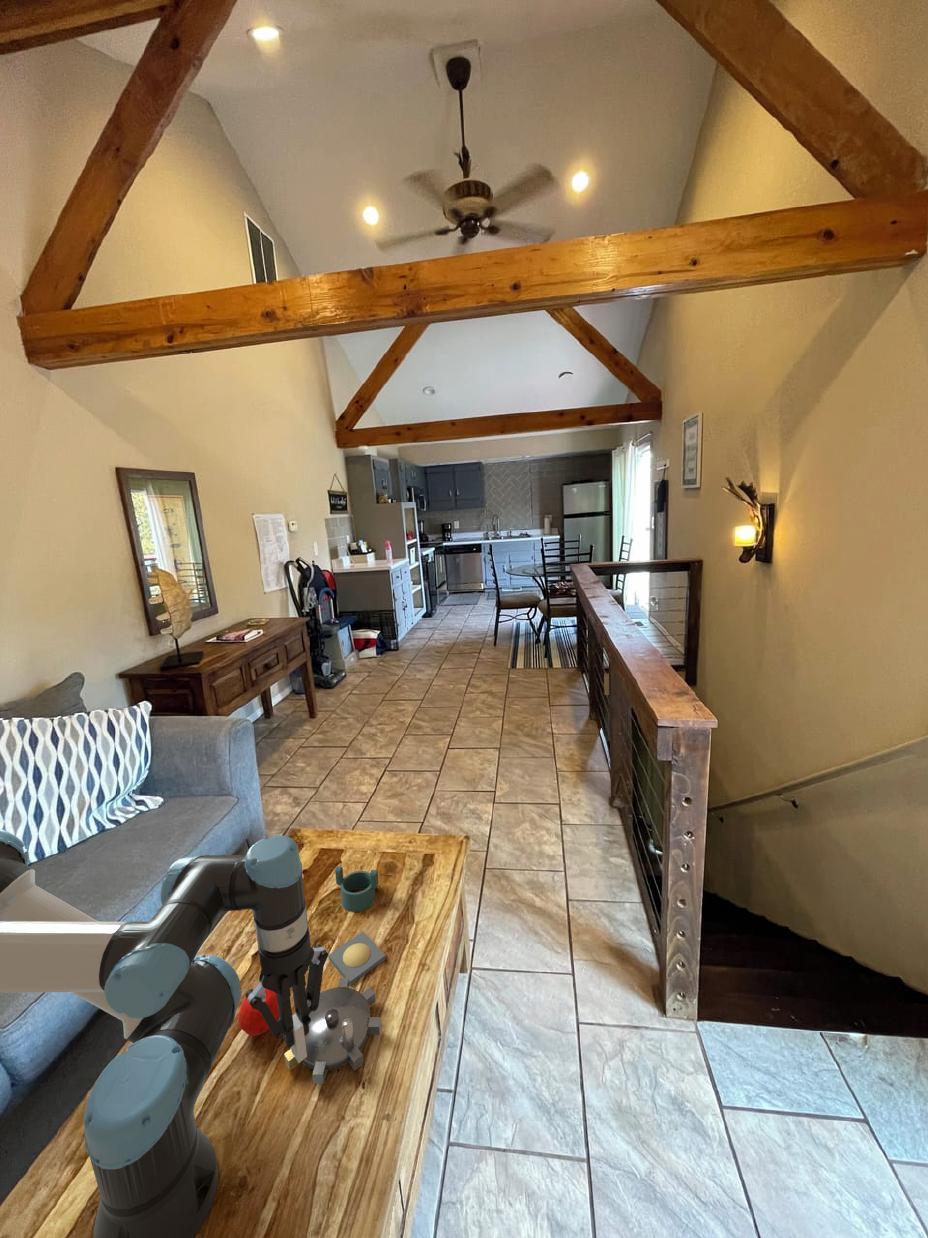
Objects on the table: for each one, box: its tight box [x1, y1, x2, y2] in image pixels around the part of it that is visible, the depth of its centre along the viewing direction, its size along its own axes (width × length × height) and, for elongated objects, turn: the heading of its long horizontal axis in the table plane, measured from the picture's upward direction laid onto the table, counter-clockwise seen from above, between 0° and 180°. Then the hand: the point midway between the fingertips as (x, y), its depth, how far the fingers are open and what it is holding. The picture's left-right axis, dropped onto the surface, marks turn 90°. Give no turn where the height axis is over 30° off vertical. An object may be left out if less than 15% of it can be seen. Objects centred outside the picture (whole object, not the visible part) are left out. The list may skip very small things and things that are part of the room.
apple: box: [237, 989, 280, 1037], centre depth 96 cm, size 8×8×7 cm
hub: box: [325, 1009, 339, 1027], centre depth 95 cm, size 6×6×4 cm
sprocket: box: [283, 977, 382, 1085], centre depth 94 cm, size 18×18×7 cm
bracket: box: [334, 866, 379, 913], centre depth 128 cm, size 9×9×9 cm
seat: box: [327, 931, 387, 986], centre depth 111 cm, size 9×9×1 cm
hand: (299, 1053), depth 83 cm, fingers closed
